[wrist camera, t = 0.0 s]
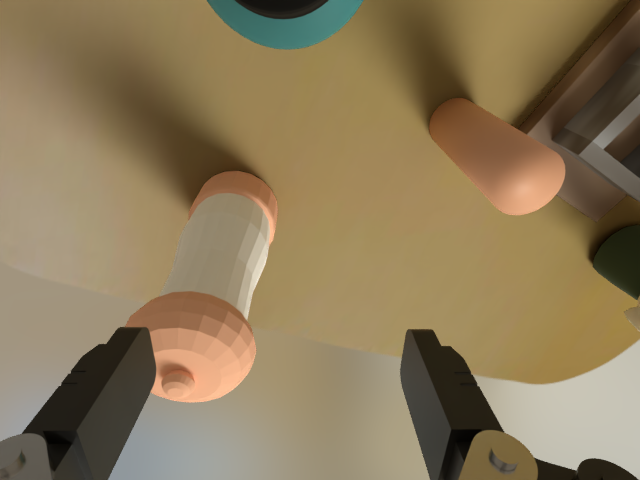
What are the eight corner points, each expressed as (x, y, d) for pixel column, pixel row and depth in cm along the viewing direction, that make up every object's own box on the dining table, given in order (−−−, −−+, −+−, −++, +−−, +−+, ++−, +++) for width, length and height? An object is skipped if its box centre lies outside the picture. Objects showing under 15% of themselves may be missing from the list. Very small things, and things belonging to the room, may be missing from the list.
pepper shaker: (182, 210, 34) (69, 399, 18) (228, 153, 31) (142, 315, 15) (247, 253, 37) (199, 449, 20) (294, 204, 34) (282, 386, 18)
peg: (451, 87, 29) (530, 133, 19) (488, 114, 30) (581, 170, 20) (419, 131, 30) (474, 194, 20) (455, 155, 32) (524, 225, 22)
